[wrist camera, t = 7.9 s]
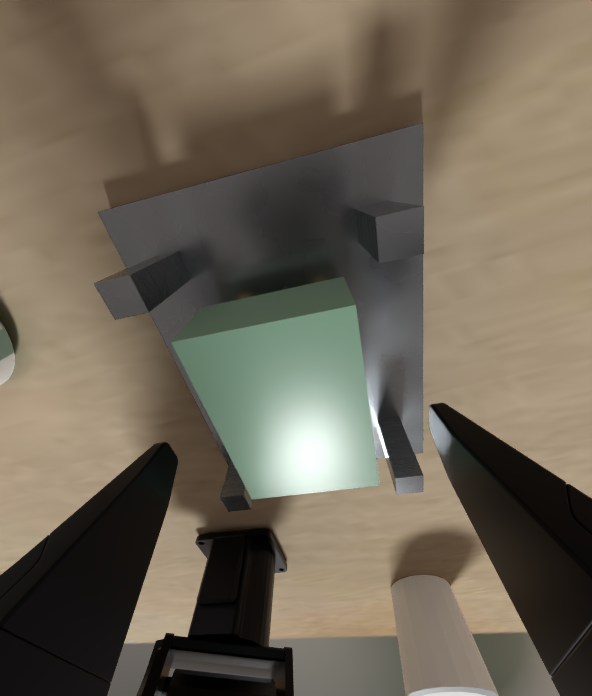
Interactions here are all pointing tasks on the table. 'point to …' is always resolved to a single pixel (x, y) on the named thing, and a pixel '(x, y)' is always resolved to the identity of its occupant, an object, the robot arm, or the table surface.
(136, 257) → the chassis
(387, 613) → the table surface
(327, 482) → the green rectangular block
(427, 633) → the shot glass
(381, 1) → the table surface
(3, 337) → the can
